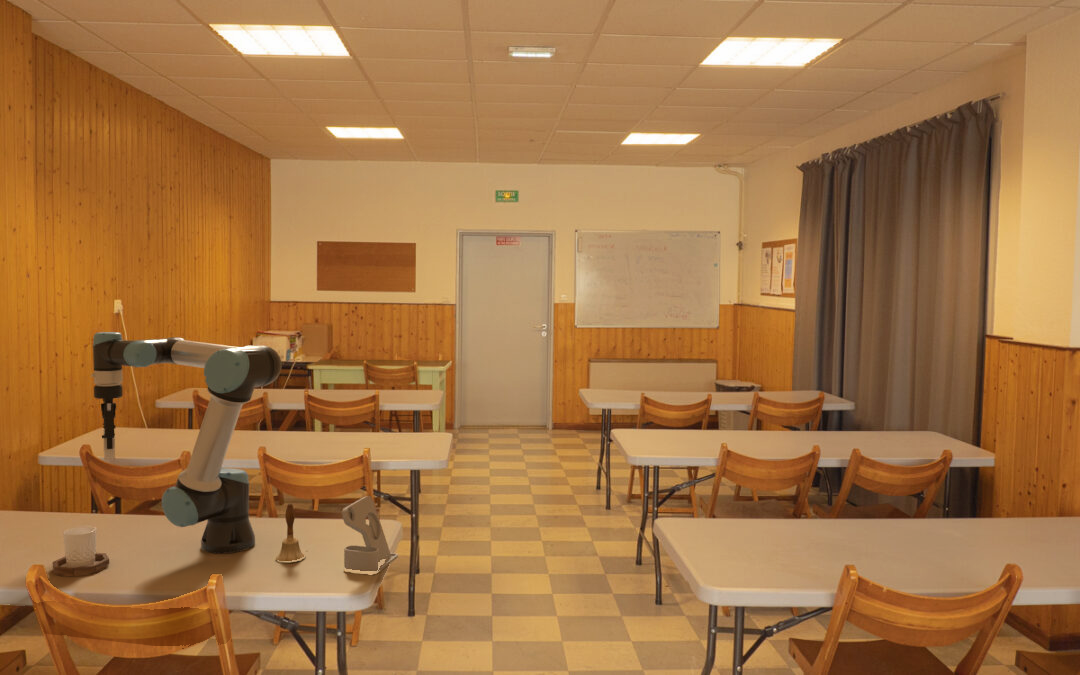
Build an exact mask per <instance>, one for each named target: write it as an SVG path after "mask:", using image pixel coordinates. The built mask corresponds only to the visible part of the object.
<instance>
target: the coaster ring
mask: <svg viewBox="0 0 1080 675" xmlns="http://www.w3.org/2000/svg"><path fill="white" fill-rule="evenodd" d="M109 565H110V557H109V556H108V554H107V553H103V552H96V554H95V564H94V565H89V566H83V567H77V568H69V567H67V566H66V557H65V556H62V557H61V558H58V559H56V560H54V561H52V570H53V574H54V575H56V576H59V577H81V576H87V575H92V574H95V573H98V572H101V571H103V570H105V569H106V568H107V567H108V566H109Z"/></svg>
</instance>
